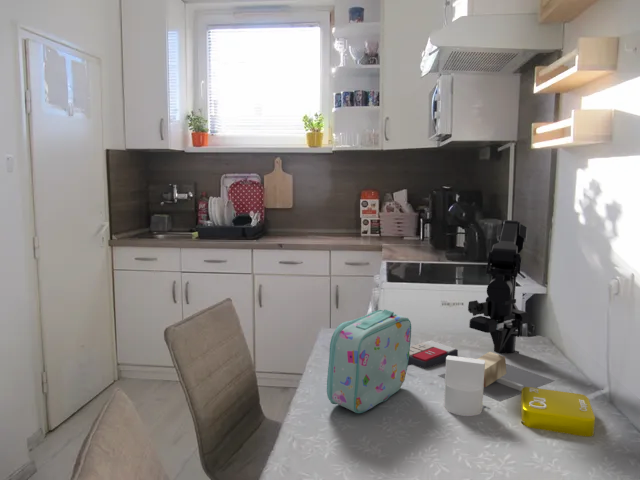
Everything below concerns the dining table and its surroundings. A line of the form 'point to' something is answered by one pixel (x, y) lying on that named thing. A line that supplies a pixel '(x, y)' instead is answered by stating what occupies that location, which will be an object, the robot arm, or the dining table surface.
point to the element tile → (557, 411)
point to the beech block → (493, 367)
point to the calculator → (430, 354)
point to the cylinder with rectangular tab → (464, 385)
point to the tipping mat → (512, 383)
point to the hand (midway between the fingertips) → (497, 351)
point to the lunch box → (368, 360)
